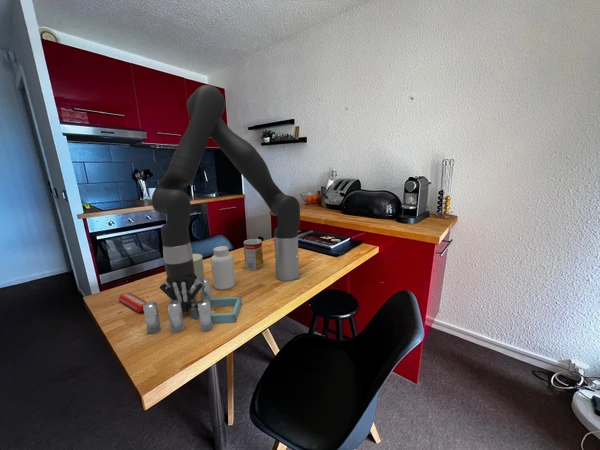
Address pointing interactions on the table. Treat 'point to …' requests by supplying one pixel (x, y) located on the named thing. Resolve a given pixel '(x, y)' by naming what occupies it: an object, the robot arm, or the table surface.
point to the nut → (194, 311)
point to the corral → (226, 316)
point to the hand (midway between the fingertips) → (186, 311)
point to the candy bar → (132, 301)
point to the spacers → (176, 312)
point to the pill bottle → (222, 268)
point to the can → (198, 266)
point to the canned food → (253, 254)
